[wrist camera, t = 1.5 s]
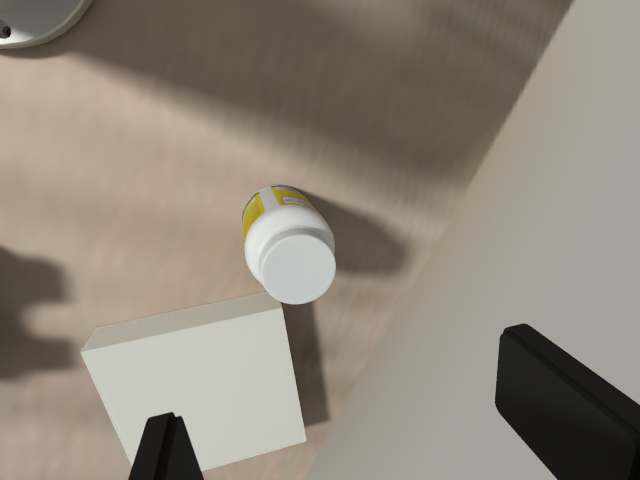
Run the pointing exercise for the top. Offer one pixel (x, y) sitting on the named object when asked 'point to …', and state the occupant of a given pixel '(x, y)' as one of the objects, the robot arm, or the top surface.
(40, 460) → the top surface
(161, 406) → the base plate
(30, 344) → the top surface
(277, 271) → the supplement bottle
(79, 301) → the top surface
